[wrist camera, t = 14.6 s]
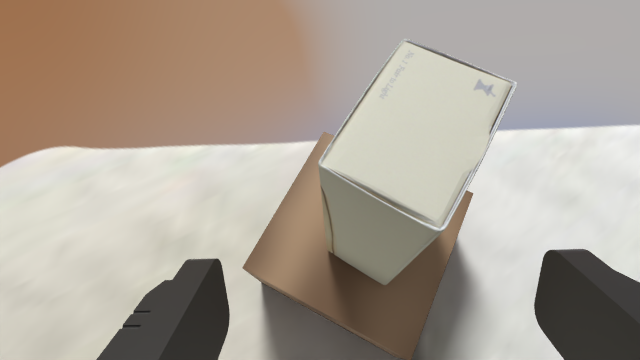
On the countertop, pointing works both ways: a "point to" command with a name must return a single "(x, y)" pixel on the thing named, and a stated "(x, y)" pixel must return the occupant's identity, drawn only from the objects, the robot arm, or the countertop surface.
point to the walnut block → (347, 269)
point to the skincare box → (407, 157)
